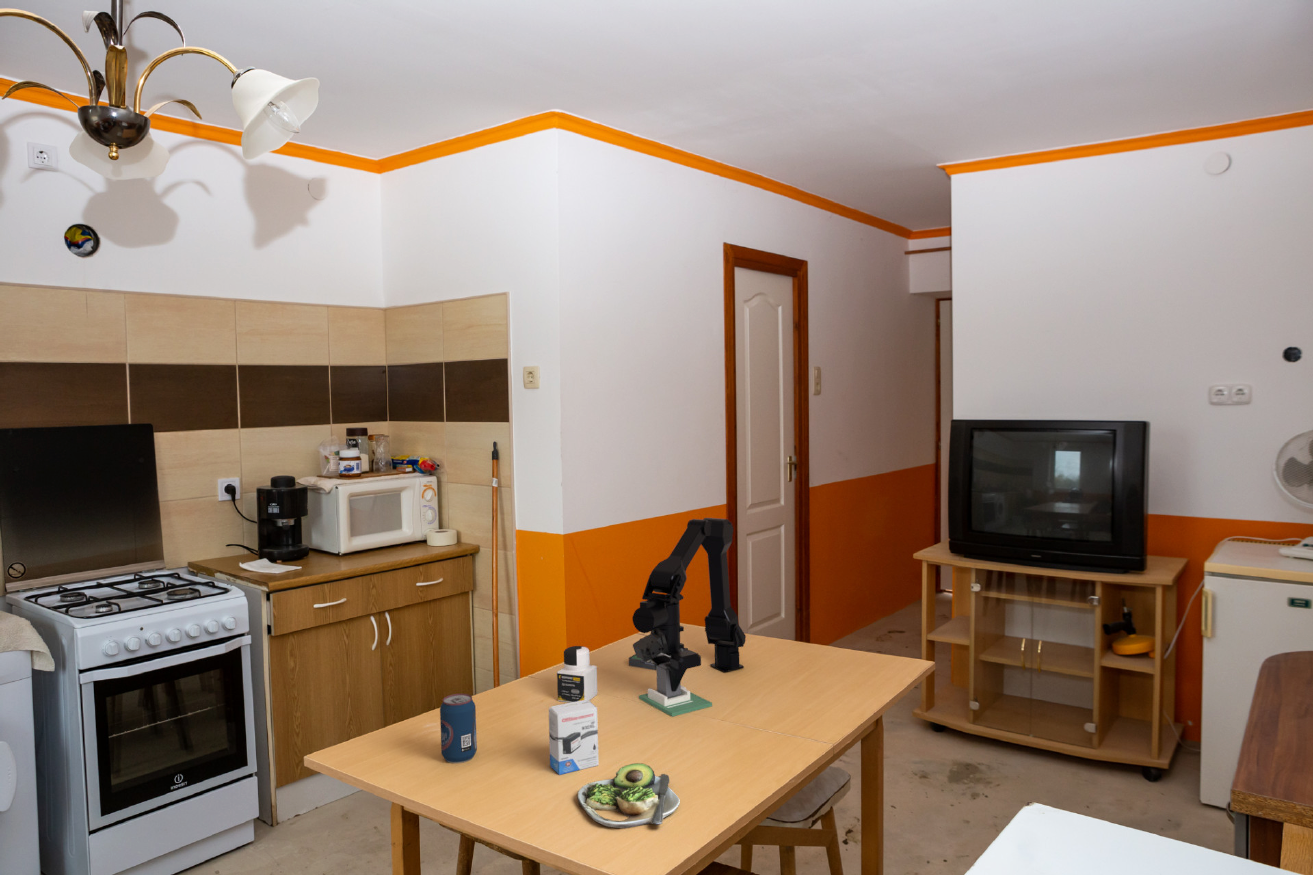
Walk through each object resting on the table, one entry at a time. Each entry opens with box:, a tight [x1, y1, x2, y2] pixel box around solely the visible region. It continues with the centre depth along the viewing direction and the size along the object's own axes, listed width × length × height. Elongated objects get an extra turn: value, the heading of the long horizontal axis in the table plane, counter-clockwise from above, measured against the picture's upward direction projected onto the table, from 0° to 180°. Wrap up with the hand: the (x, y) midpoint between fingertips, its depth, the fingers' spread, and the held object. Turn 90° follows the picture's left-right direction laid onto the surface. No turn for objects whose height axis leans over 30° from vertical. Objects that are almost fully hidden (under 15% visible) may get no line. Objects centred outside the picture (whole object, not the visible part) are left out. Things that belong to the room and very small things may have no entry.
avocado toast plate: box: [577, 762, 681, 829], centre depth 153 cm, size 19×18×5 cm
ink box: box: [548, 700, 600, 776], centre depth 170 cm, size 8×5×12 cm, turn 117°
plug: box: [655, 662, 682, 698], centre depth 204 cm, size 4×4×7 cm
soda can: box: [439, 693, 478, 764], centre depth 175 cm, size 7×7×12 cm
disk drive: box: [628, 647, 689, 671], centre depth 235 cm, size 10×3×15 cm
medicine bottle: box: [556, 645, 598, 703], centre depth 208 cm, size 7×7×12 cm
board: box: [638, 685, 713, 718], centre depth 204 cm, size 14×11×3 cm
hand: (668, 688), depth 204 cm, fingers closed on plug, 4 cm apart
